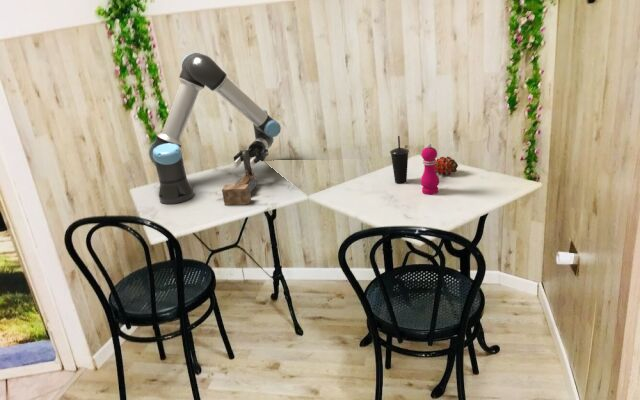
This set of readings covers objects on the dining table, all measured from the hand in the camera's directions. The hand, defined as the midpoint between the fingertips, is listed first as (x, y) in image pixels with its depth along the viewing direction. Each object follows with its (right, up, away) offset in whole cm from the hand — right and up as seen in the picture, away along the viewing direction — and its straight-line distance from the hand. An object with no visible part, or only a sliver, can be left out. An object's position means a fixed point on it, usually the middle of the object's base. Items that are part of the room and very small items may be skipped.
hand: (243, 164), depth 226 cm
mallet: (+1, -10, +3) cm, 11 cm away
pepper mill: (+77, -12, -18) cm, 80 cm away
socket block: (-1, -16, -7) cm, 18 cm away
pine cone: (+86, -5, -3) cm, 87 cm away
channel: (+1, -12, +2) cm, 12 cm away
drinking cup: (+68, -8, -5) cm, 68 cm away
